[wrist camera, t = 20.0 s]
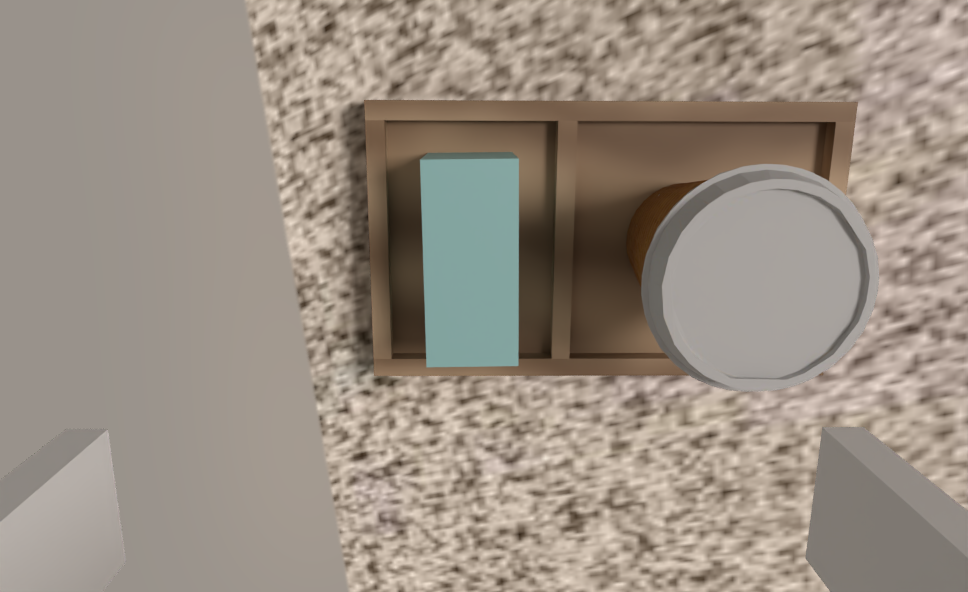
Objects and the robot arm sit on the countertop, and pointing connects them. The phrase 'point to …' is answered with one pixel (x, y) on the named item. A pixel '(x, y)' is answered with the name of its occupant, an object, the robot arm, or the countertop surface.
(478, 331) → the teal rectangular block
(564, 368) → the divided compartment tray
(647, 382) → the countertop surface
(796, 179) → the disposable coffee cup
